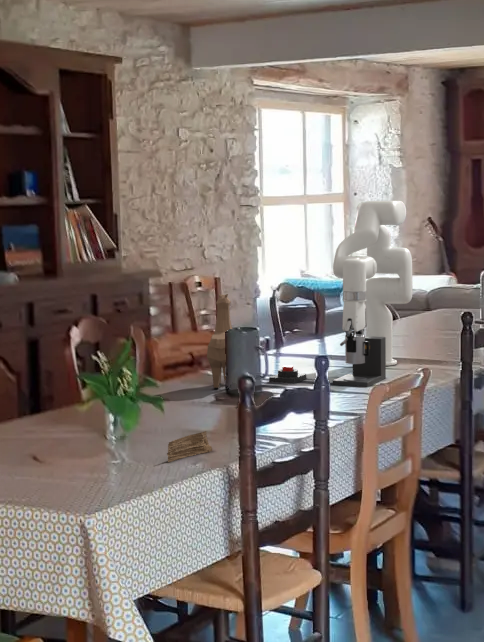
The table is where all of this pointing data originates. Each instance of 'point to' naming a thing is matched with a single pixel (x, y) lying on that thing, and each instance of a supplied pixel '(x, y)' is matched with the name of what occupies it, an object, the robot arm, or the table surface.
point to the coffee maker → (368, 366)
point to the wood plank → (188, 446)
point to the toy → (219, 340)
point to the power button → (287, 368)
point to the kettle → (357, 350)
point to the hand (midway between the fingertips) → (355, 350)
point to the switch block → (287, 377)
